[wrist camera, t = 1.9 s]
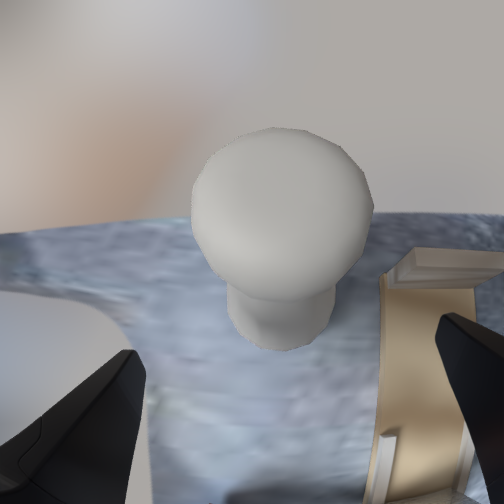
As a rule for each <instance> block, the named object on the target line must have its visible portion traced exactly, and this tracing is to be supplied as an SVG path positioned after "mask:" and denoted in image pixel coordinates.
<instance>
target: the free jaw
mask: <svg viewBox="0 0 504 504" xmlns="http://www.w3.org/2000/svg"><path fill="white" fill-rule="evenodd" d="M209 504H211V503H209ZM385 504H480V503H478V502H477V501H475V500H473V499H471V498H469V497H467V496H466V495H464V494H462V493H460V492H459V491H457V490H455V489H453V488H452V487H449V488H446V489H442V490H439V491H436V492H432V493H428V494H425V495H421V496H417V497H412V498H408V499H403V500H399V501H394V502H388V503H385Z"/></svg>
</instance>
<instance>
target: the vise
mask: <svg viewBox="0 0 504 504" xmlns="http://www.w3.org/2000/svg"><path fill="white" fill-rule="evenodd" d="M502 272H504V252H491V251H476V250H461V249H444V248H427V247H414V248H413V249H412V250H411V251H410V252H409V253H408V254H407V255H406V256H405V257H404V258H402V259H401V260H400V261H399V262H398V263H397V264H396V265H395V266H394V267H393V268H392V269H391V270H390V271H389V272H388V273H383V274H382V275H381V276H380V277H379V285H380V370H379V388H378V401H377V412H376V422H375V431H374V439H373V447H372V454H371V460H370V466H369V472H368V478H367V483H366V488H365V493H364V498H363V503H362V504H385V503H388V502H394V501H399V500H403V499H408V498H412V497H417V496H421V495H425V494H428V493H432V492H436V491H439V490H442V489H446V488H449V487H452V488H453V489H455V490H457V491H459V492H460V493H462V494H464V492H465V489H466V485H467V481H468V477H469V473H470V469H471V465H472V460H473V455H474V450H475V448H474V445H473V442H472V439H471V436H470V433H469V430H468V428H467V425H466V422H465V420H464V417H463V415H462V412H461V410H460V407H459V405H458V402H457V400H456V398H455V395H454V393H453V390H452V388H451V386H450V383H449V381H448V378H447V375H446V372H445V369H444V366H443V363H442V360H441V357H440V354H439V351H438V349H437V346H436V343H435V333H436V330H437V327H438V323H439V320H440V317H441V316H442V315H443V314H445V313H449V312H455V313H457V314H459V315H461V316H463V317H465V318H467V319H469V320H471V321H473V322H475V323H476V310H475V298H474V287H476V286H478V285H480V284H482V283H484V282H485V281H487V280H489V279H491V278H493V277H495V276H497V275H498V274H500V273H502Z"/></svg>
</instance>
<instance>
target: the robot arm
mask: <svg viewBox="0 0 504 504" xmlns="http://www.w3.org/2000/svg"><path fill="white" fill-rule="evenodd" d="M435 343H436V346H437V349H438V351H439V354H440V357H441V360H442V363H443V366H444V369H445V372H446V375H447V378H448V381H449V383H450V386H451V388H452V390H453V393H454V395H455V398H456V400H457V402H458V405H459V407H460V410H461V412H462V415H463V417H464V420H465V422H466V425H467V428H468V430H469V433H470V436H471V439H472V442H473V445H474V448H475V451H476V454H477V457H478V460H479V463H480V466H481V470H482V473H483V476H484V480H485V484H486V486H487V487H486V488H487V492H488V496H489V500H490V504H504V336H502V335H500V334H498V333H496V332H494V331H492V330H490V329H488V328H486V327H484V326H482V325H480V324H477V323H475V322H473V321H471V320H469V319H467V318H465V317H463V316H461V315H459V314H457V313H455V312H449V313H445V314H443V315H442V316H441V317H440V320H439V323H438V327H437V330H436V333H435ZM145 381H146V371H145V368H144V366H143V363H142V361H141V359H140V357H139V355H138V353H137V352H136V351H135V350H122V351H120V352H119V353H118V354H116V355H115V356H114V357H113V358H112V359H110V360H109V361H108V362H107V363H105V364H104V365H103V366H102V367H100V368H99V369H98V370H97V371H95V372H94V373H93V374H92V375H91V376H90V377H88V378H87V379H86V380H84V381H83V382H82V383H81V384H80V385H78V386H77V387H76V388H75V389H73V390H72V391H71V392H70V393H69V394H67V395H66V396H65V397H64V398H63V399H61V400H60V401H59V402H57V403H56V404H55V405H54V406H53V407H51V408H50V409H49V410H48V411H46V412H45V413H44V414H43V415H42V416H41V417H39V418H38V419H37V420H35V421H34V422H33V423H32V424H30V425H29V426H28V427H27V428H25V429H24V430H23V431H21V432H20V433H19V434H17V435H16V436H14V437H13V438H12V439H10V440H9V441H7V442H6V443H4V444H3V445H1V446H0V504H125V499H126V492H127V487H128V480H129V476H130V470H131V465H132V459H133V455H134V450H135V444H136V440H137V435H138V431H139V426H140V421H141V415H142V406H143V397H144V389H145Z"/></svg>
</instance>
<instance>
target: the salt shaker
mask: <svg viewBox="0 0 504 504" xmlns="http://www.w3.org/2000/svg"><path fill="white" fill-rule="evenodd" d="M373 209H374V204H373V201H372V197H371V194H370V190H369V187H368V184H367V181H366V178H365V175H364V172H363V171H362V170H361V169H360V168H359V166H358V165H357V164H356V163H355V162H354V161H353V160H352V159H351V158H350V156H349V155H348V154H347V153H346V152H345V151H344V150H343V149H342V148H341V147H340V146H338V145H336V144H334V143H332V142H330V141H328V140H325V139H323V138H321V137H319V136H317V135H315V134H312V133H310V132H308V131H305V130H297V129H286V128H275V127H272V128H268V129H265V130H260V131H257V132H253V133H250V134H246V135H242V136H240V137H238V138H237V139H235V140H233V141H232V142H230V143H229V144H228V145H226V146H225V147H223V148H222V149H220V150H219V151H218V152H216V153H215V154H214V155H212V156H211V157H210V158H209V159H208V161H207V162H206V164H205V166H204V168H203V169H202V171H201V173H200V175H199V177H198V179H197V180H196V182H195V184H194V186H193V190H192V212H191V225H192V230H193V235H194V237H195V239H196V241H197V243H198V245H199V247H200V248H201V250H202V252H203V254H204V256H205V258H206V259H207V261H208V263H209V265H210V267H211V268H212V270H213V271H214V272H215V273H216V274H217V275H218V276H219V277H220V278H221V279H223V280H224V281H226V282H227V307H228V315H229V316H230V318H231V320H232V322H233V323H234V325H235V327H236V329H237V330H238V332H239V334H240V335H242V336H243V337H245V338H246V339H247V340H249V341H250V342H252V343H253V344H255V345H256V346H258V347H259V348H260V349H269V350H277V351H288V350H292V349H295V348H298V347H301V346H304V345H307V344H310V343H311V342H312V341H313V340H314V339H315V338H316V337H317V336H318V335H319V334H320V333H321V332H322V331H323V329H324V328H325V327H326V326H327V324H328V322H329V319H330V316H331V313H332V311H333V308H334V305H335V295H336V284H337V282H338V281H339V280H340V279H341V278H342V277H343V276H344V275H345V274H346V273H347V272H348V271H349V269H350V268H351V267H352V266H353V265H354V264H355V263H356V262H357V261H358V260H359V258H360V257H361V256H362V254H363V251H364V247H365V243H366V239H367V235H368V231H369V227H370V223H371V219H372V214H373Z"/></svg>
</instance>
